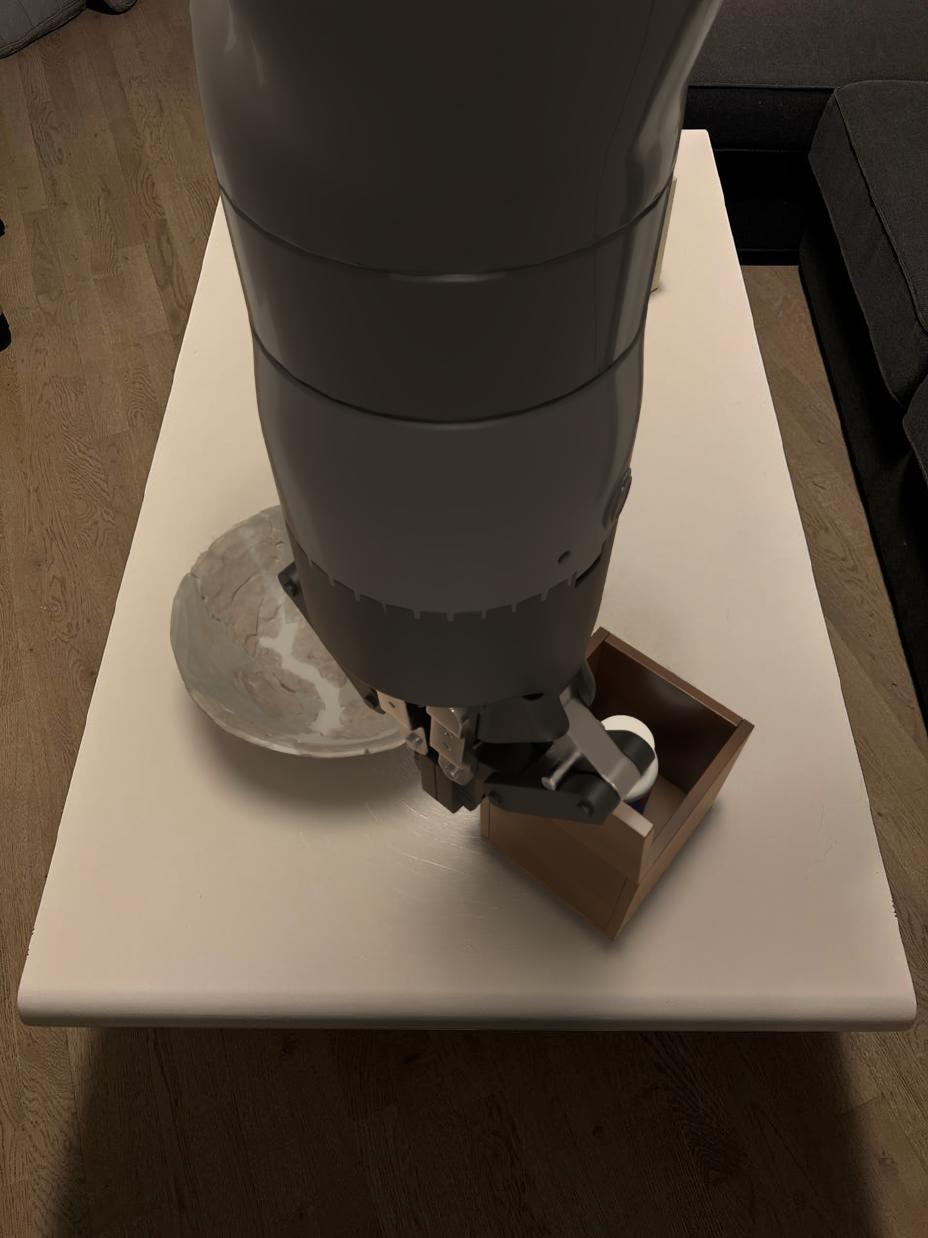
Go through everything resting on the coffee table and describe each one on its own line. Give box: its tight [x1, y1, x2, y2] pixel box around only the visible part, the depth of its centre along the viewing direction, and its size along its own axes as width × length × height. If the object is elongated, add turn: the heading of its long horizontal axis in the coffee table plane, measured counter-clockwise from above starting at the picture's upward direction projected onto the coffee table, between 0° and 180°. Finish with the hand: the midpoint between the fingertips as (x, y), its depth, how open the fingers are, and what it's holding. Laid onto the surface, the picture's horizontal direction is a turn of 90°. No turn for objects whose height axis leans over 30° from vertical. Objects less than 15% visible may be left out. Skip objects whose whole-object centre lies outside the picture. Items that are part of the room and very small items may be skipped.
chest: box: [479, 625, 756, 942], centre depth 63 cm, size 13×12×13 cm
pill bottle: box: [601, 715, 658, 814], centre depth 64 cm, size 6×5×10 cm
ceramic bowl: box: [169, 503, 406, 760], centre depth 70 cm, size 22×23×10 cm
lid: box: [550, 801, 655, 884], centre depth 48 cm, size 13×12×1 cm
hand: (457, 784), depth 35 cm, fingers closed
